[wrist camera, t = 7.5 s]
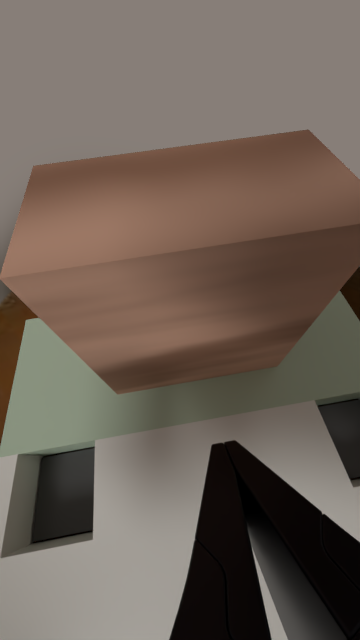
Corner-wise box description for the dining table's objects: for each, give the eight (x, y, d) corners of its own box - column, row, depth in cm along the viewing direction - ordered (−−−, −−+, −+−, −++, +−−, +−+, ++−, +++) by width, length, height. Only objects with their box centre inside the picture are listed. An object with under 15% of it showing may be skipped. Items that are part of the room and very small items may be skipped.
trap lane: (516, 647, 10) (602, 694, 8) (-21, 775, 9) (-86, 866, 7) (313, 293, 20) (327, 272, 18) (44, 336, 19) (26, 320, 17)
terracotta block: (277, 366, 14) (398, 217, 6) (117, 394, 14) (-1, 278, 5) (250, 299, 17) (308, 129, 8) (115, 321, 17) (33, 165, 8)
